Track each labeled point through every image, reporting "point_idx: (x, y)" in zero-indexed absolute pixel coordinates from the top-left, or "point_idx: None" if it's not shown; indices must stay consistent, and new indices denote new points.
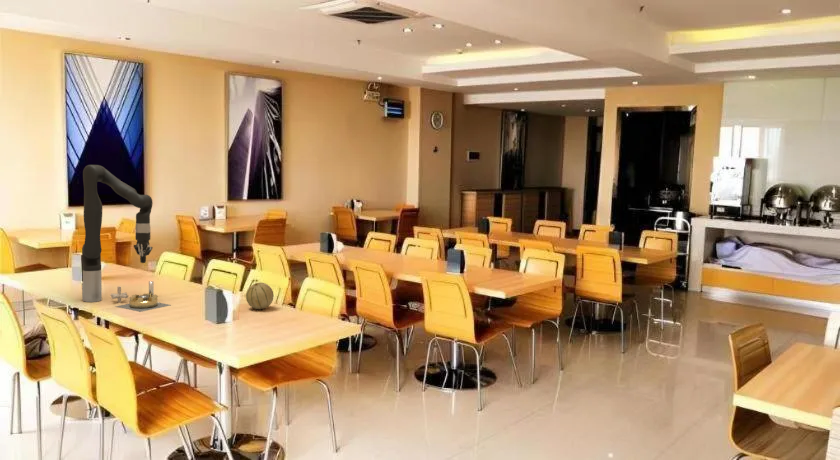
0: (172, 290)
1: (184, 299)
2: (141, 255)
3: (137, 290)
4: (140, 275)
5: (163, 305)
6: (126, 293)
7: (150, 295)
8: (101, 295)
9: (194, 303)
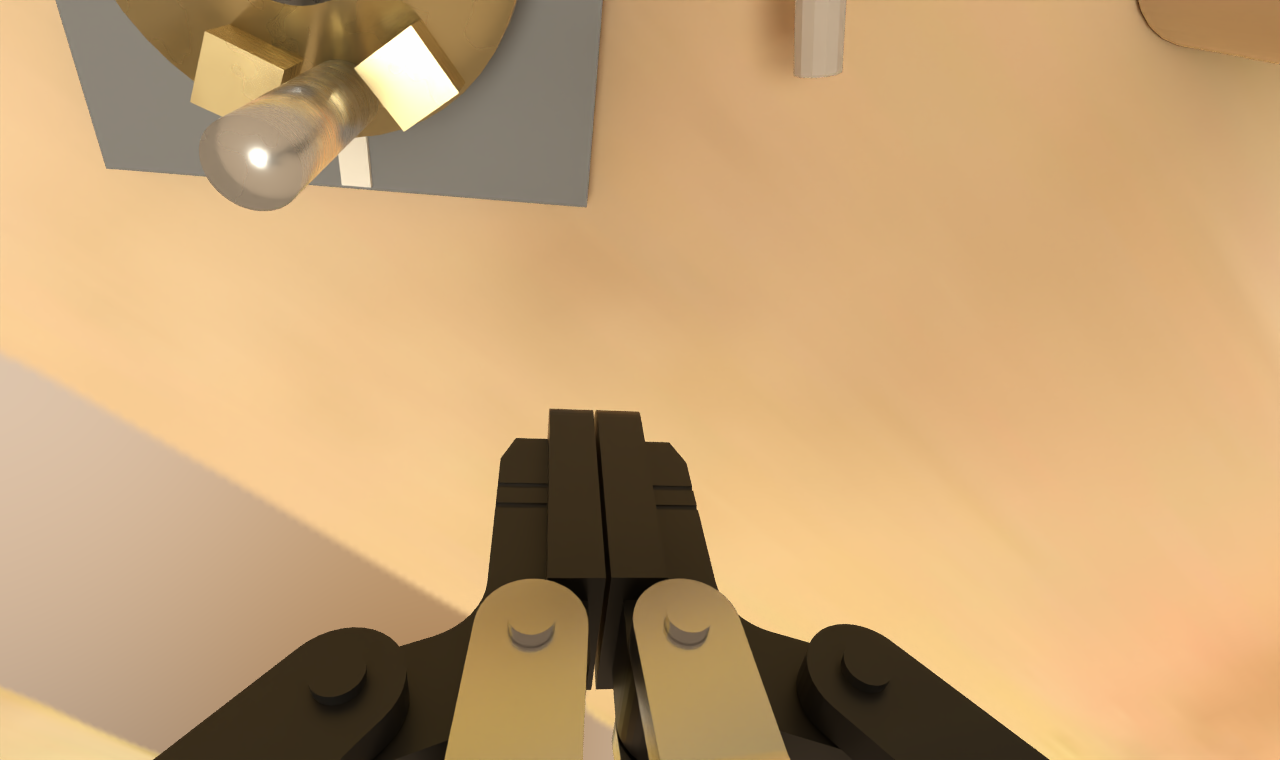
0: (764, 620)
1: (416, 485)
2: (631, 625)
3: (1016, 499)
4: (1224, 742)
5: (157, 93)
6: (799, 64)
7: (308, 70)
8: (1183, 11)
9: (184, 430)
